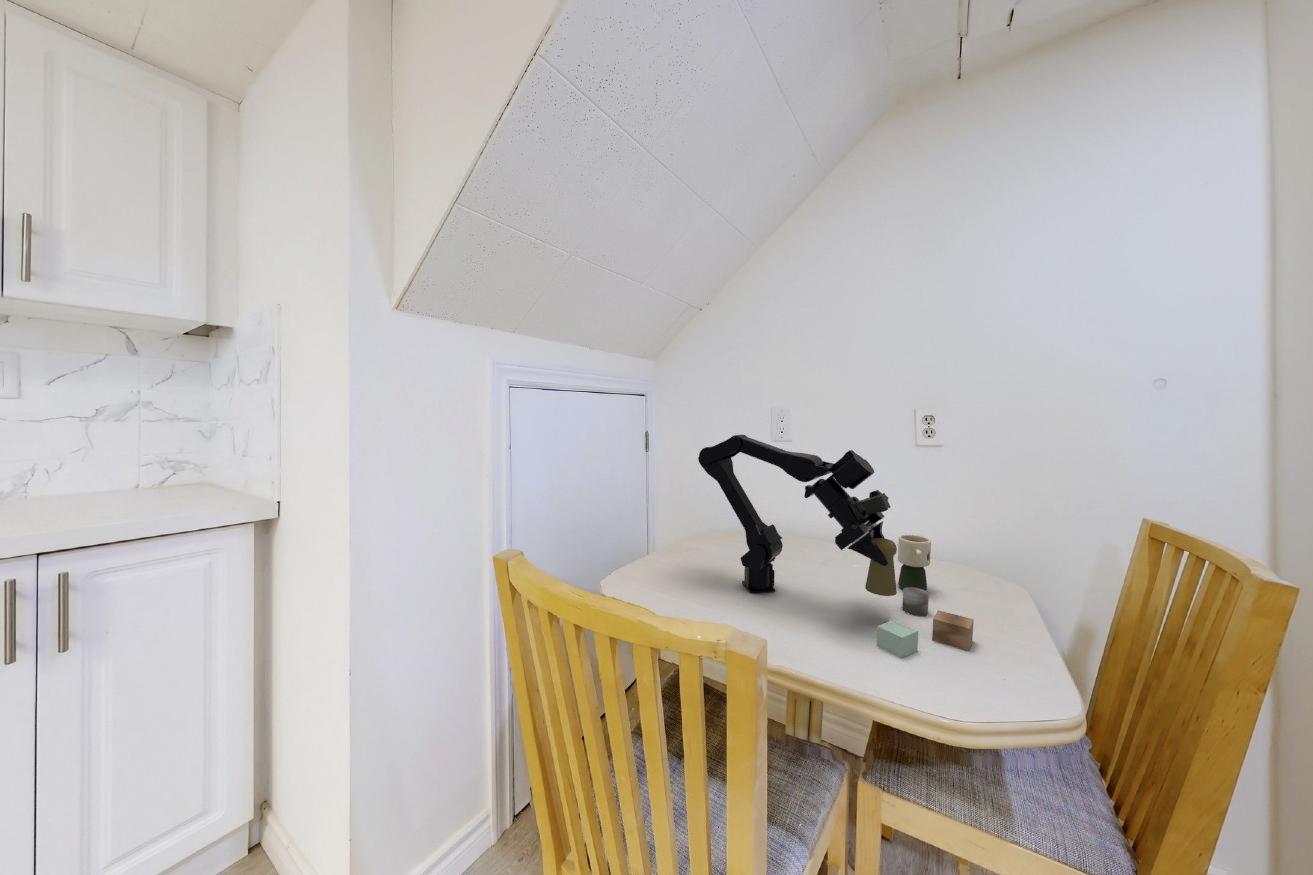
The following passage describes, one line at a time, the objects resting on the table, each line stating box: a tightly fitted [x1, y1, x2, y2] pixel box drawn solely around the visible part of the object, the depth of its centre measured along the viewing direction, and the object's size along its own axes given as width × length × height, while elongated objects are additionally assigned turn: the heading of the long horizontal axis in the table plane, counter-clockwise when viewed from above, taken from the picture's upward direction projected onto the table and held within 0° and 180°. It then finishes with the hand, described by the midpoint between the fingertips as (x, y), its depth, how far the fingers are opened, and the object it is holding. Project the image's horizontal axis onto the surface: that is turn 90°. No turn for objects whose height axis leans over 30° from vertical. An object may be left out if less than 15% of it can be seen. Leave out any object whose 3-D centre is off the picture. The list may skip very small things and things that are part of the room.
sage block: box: [876, 619, 919, 659], centre depth 87 cm, size 5×5×4 cm
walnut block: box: [931, 609, 975, 652], centre depth 90 cm, size 6×5×4 cm
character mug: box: [897, 533, 932, 591], centre depth 115 cm, size 11×7×13 cm, turn 163°
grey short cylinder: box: [901, 587, 930, 617], centre depth 103 cm, size 5×5×4 cm
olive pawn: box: [864, 537, 898, 597], centre depth 97 cm, size 6×6×11 cm
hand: (889, 561), depth 97 cm, fingers closed on olive pawn, 5 cm apart
